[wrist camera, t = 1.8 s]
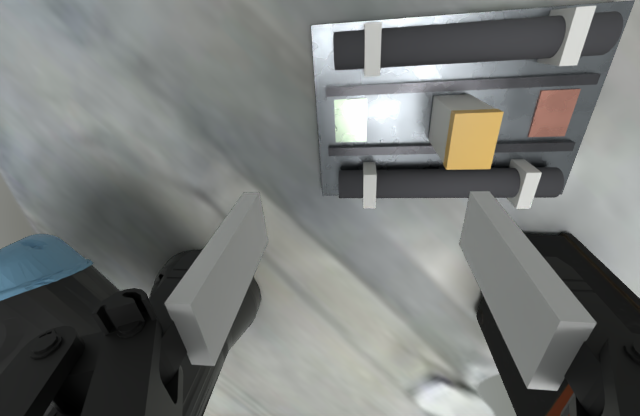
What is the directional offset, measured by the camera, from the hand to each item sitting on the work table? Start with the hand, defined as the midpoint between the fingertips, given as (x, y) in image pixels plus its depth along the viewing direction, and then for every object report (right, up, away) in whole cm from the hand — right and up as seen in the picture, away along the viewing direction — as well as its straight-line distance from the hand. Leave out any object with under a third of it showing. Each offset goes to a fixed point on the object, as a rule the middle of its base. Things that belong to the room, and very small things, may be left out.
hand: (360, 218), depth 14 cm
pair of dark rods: (+10, +9, +14) cm, 19 cm away
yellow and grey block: (+10, +9, +14) cm, 19 cm away
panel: (+10, +10, +16) cm, 21 cm away
